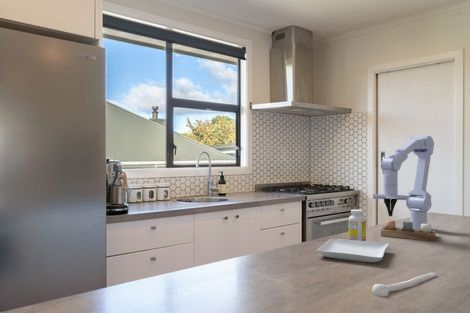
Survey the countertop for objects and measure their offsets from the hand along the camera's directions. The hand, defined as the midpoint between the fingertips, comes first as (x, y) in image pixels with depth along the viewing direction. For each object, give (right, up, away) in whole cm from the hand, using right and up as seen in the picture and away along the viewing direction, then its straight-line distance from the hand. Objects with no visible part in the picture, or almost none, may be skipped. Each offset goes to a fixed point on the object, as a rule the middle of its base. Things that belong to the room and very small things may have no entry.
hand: (390, 215), depth 167 cm
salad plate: (-27, -9, -34) cm, 44 cm away
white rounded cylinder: (+13, -6, -6) cm, 15 cm away
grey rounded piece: (+6, -6, -3) cm, 9 cm away
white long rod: (-22, -9, -64) cm, 69 cm away
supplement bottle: (-19, -8, -14) cm, 26 cm away
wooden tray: (+6, -8, -3) cm, 11 cm away
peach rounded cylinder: (0, -6, 0) cm, 6 cm away
